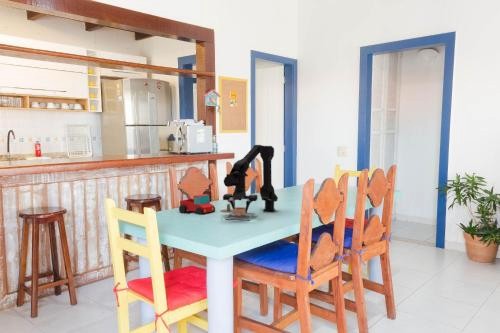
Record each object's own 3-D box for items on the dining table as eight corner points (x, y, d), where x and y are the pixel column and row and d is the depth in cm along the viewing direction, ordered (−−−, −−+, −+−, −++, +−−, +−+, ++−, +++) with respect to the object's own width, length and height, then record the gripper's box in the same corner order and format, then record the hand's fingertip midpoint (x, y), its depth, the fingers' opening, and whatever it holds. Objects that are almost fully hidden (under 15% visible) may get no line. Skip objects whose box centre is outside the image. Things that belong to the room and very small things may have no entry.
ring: (236, 212, 223) (236, 207, 222) (247, 212, 221) (247, 207, 221) (232, 215, 214) (232, 209, 214) (244, 215, 213) (244, 210, 213)
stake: (222, 210, 239) (222, 202, 238) (238, 211, 236) (238, 202, 236) (218, 214, 229) (218, 205, 228) (234, 214, 227) (234, 206, 226)
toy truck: (202, 217, 221) (201, 197, 220) (178, 212, 234) (177, 194, 233) (216, 213, 231) (216, 195, 230) (192, 209, 243) (192, 191, 242)
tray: (231, 214, 227) (231, 212, 227) (254, 215, 224) (254, 213, 224) (225, 219, 214) (225, 217, 214) (249, 221, 211) (249, 218, 211)
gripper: (220, 186, 211) (220, 214, 213) (253, 187, 208) (253, 216, 209) (225, 183, 222) (225, 210, 224) (257, 184, 218) (257, 212, 220)
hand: (240, 212), depth 219 cm, fingers closed on ring, 6 cm apart
